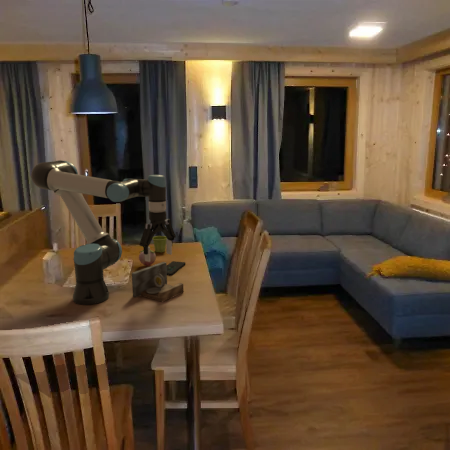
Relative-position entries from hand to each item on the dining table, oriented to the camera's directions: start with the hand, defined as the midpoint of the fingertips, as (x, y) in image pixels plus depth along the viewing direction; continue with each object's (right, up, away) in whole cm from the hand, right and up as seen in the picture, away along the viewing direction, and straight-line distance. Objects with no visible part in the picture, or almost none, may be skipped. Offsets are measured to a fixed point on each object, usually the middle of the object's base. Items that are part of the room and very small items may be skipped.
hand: (158, 257), depth 186 cm
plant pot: (-10, -2, +71) cm, 72 cm away
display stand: (0, -16, +4) cm, 17 cm away
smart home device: (+1, -10, +37) cm, 39 cm away
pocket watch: (-1, -16, +2) cm, 16 cm away
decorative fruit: (-13, -8, +43) cm, 45 cm away
